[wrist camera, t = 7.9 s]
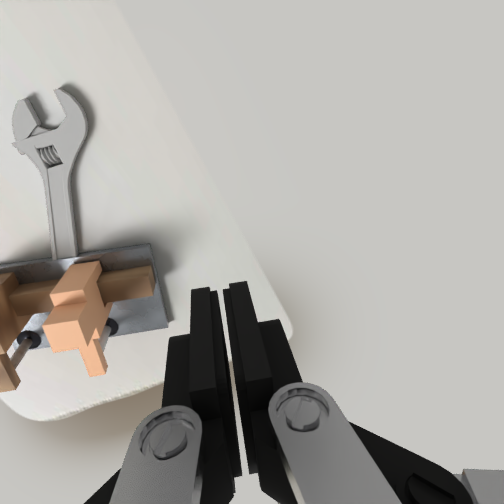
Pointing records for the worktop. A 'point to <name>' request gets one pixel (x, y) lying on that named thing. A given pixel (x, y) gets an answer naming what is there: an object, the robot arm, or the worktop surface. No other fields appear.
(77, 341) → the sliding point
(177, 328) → the worktop surface
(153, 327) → the flange plate
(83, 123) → the adjustable wrench
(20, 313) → the trammel bar
